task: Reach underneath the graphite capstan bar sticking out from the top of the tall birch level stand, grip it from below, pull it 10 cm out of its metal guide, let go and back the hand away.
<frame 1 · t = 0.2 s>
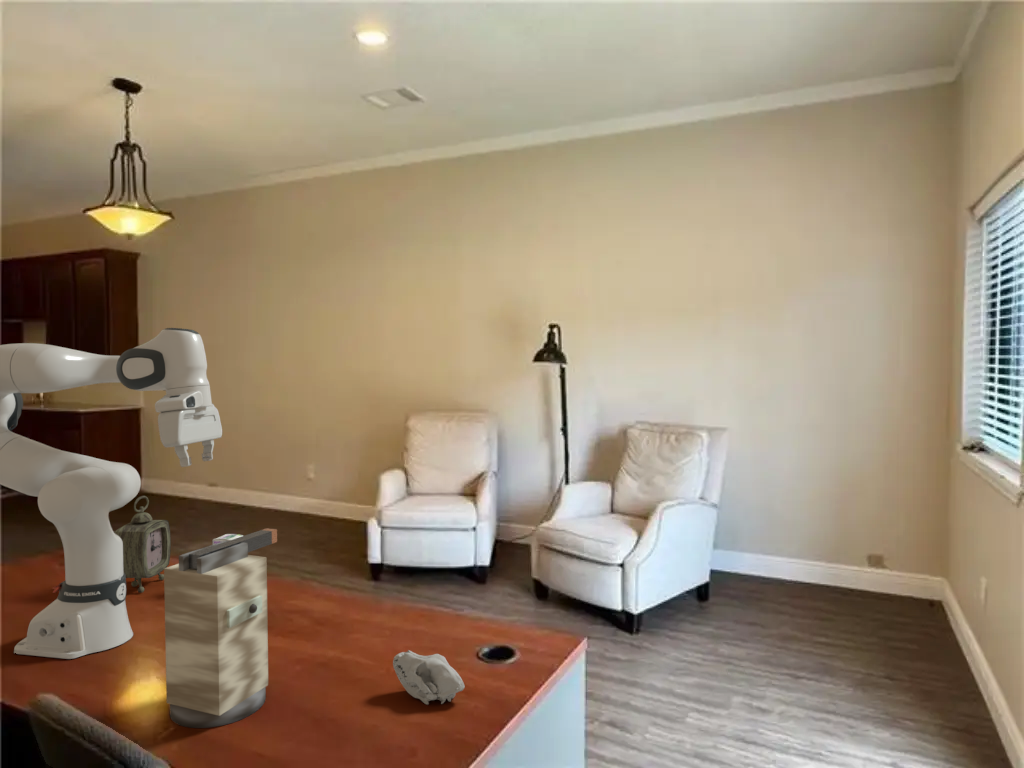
hand: (197, 463, 152), 40 cm above the table, tool pointing down, fingers open, 8 cm apart
syrup box: (229, 589, 189), on the table
level stand: (227, 699, 128), on the table
skull: (429, 696, 129), on the table
capstan bar: (235, 547, 129), point 28 cm above the table, slide at 0.0 cm
tabletop clock: (141, 587, 191), on the table
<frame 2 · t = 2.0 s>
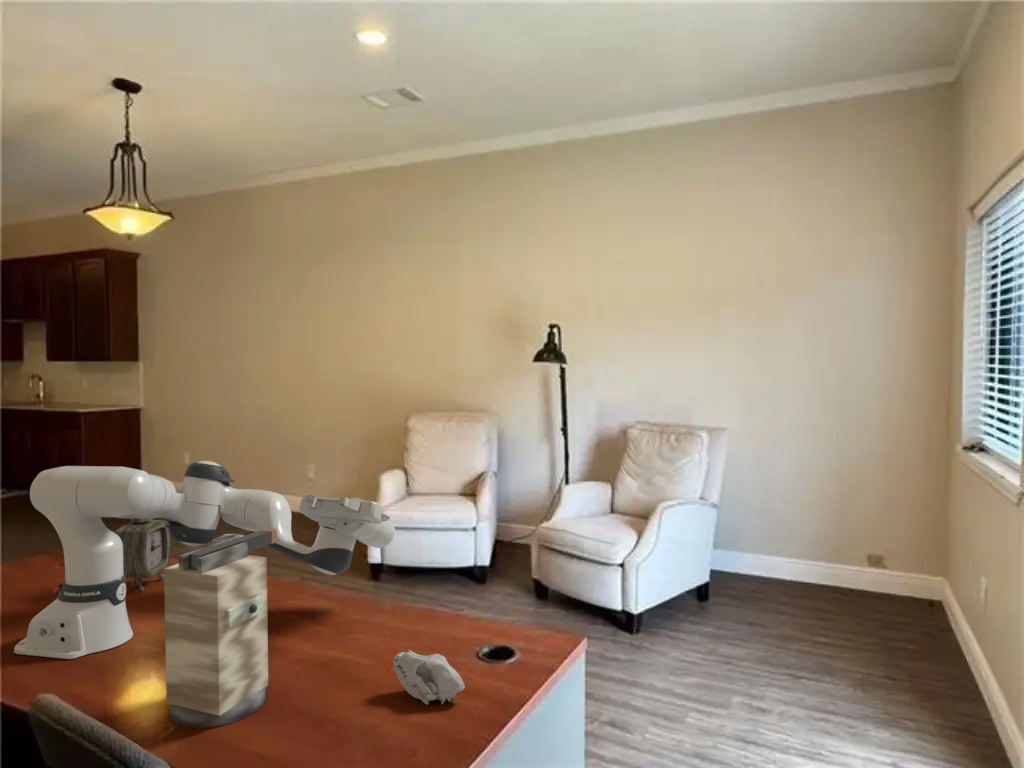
hand: (324, 499, 155), 31 cm above the table, tool pointing upward, fingers open, 8 cm apart
nothing on the table moved.
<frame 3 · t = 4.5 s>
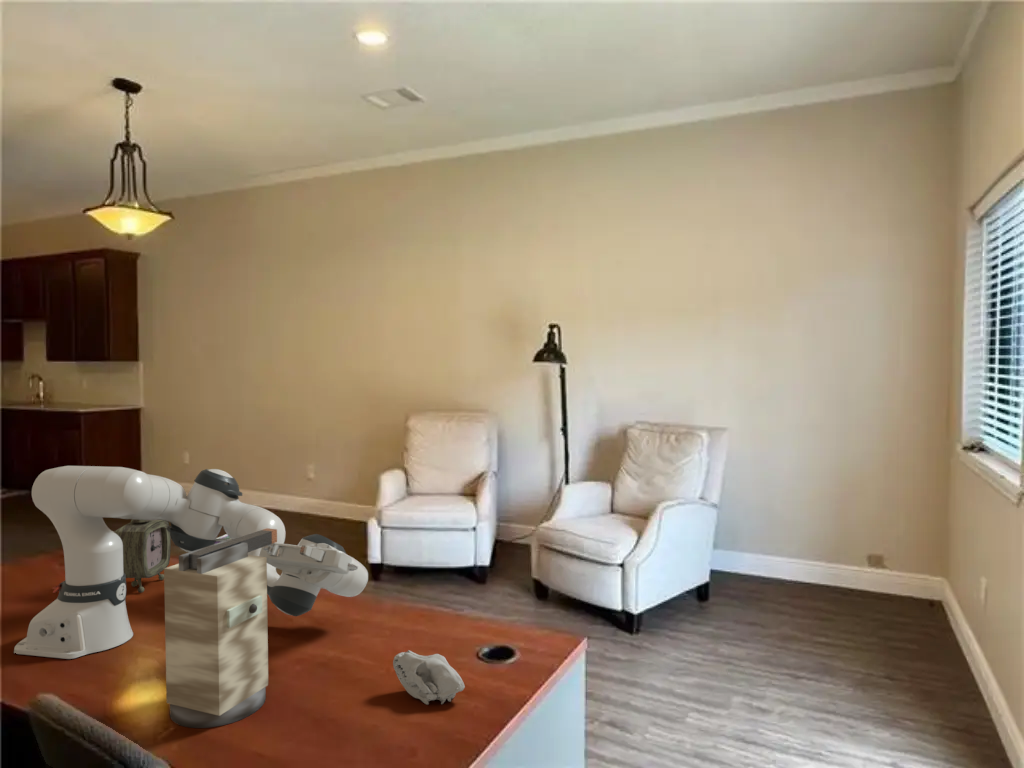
hand: (284, 547, 141), 24 cm above the table, tool pointing upward, fingers open, 8 cm apart
nothing on the table moved.
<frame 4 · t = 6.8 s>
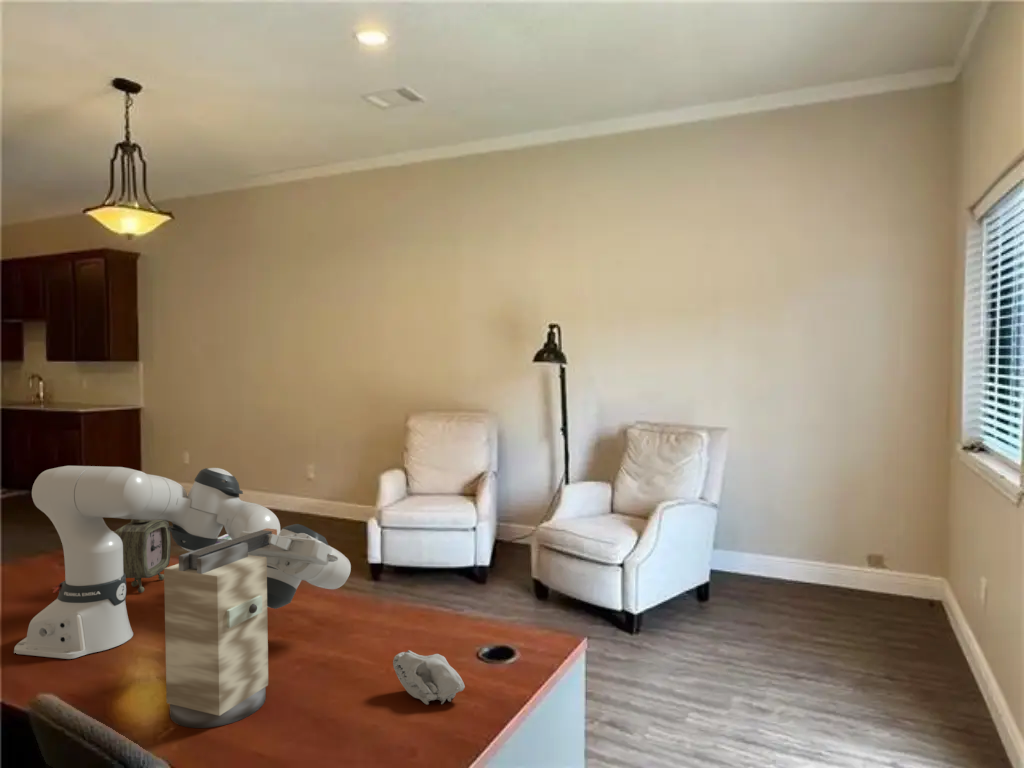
hand: (260, 536, 135), 28 cm above the table, tool pointing upward, fingers closed on capstan bar, 2 cm apart
capstan bar: (236, 547, 129), point 28 cm above the table, slide at 0.0 cm, touching gripper
everything else where it was.
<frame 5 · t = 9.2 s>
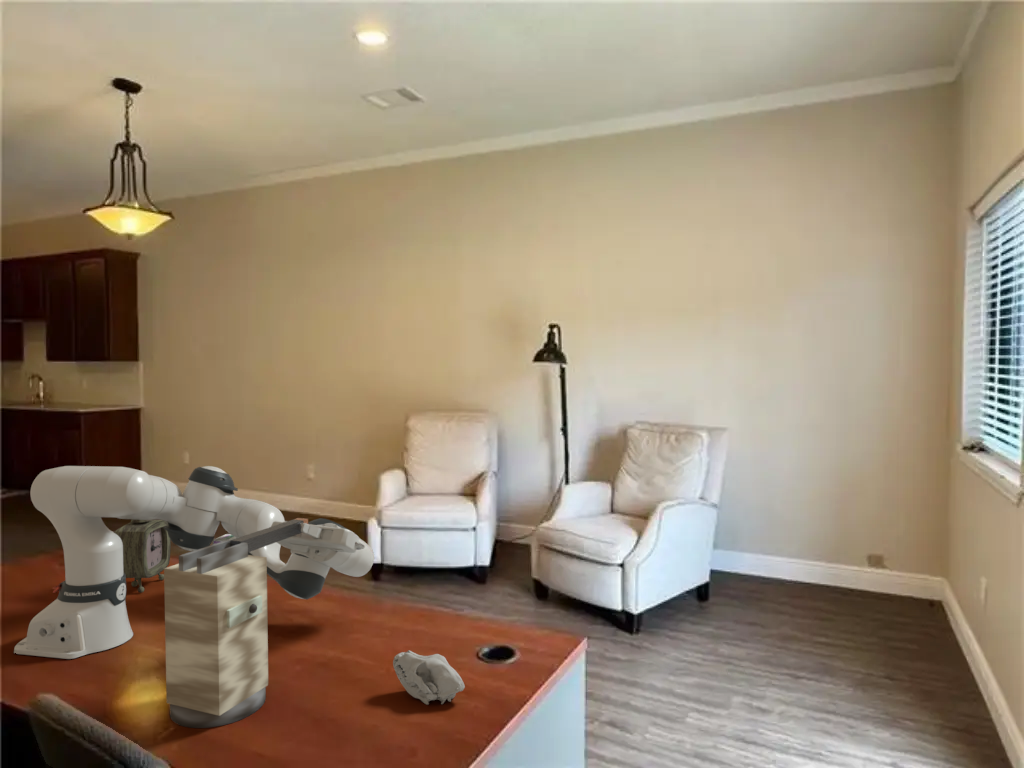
hand: (293, 525, 144), 28 cm above the table, tool pointing upward, fingers closed on capstan bar, 2 cm apart
capstan bar: (271, 535, 138), point 28 cm above the table, slide at 9.7 cm, touching gripper
everything else where it was.
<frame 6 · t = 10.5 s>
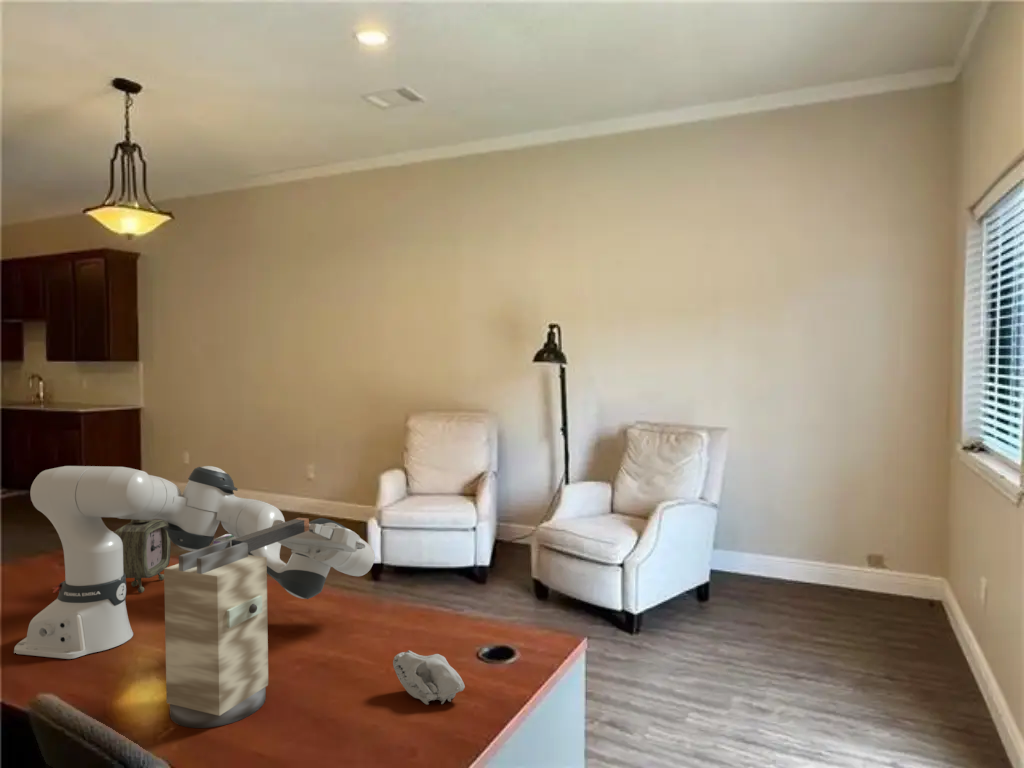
hand: (294, 525, 145), 28 cm above the table, tool pointing upward, fingers open, 8 cm apart
capstan bar: (272, 534, 138), point 28 cm above the table, slide at 10.0 cm
everything else where it was.
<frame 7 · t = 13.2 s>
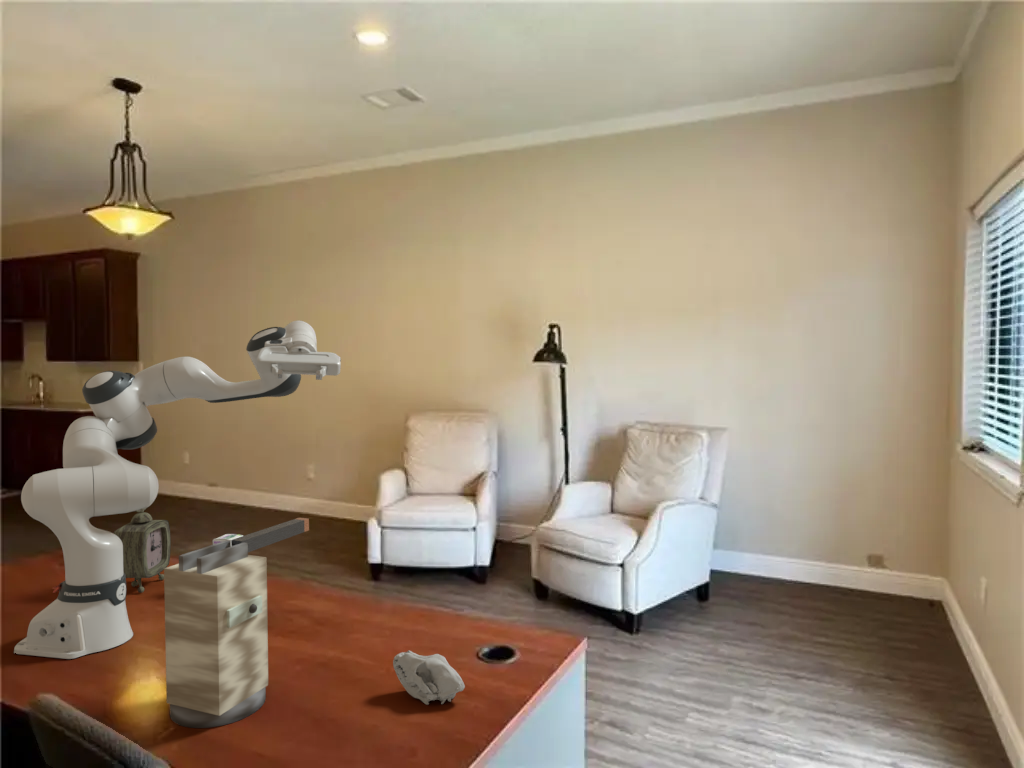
hand: (299, 376, 170), 58 cm above the table, tool tilted 65°, fingers open, 8 cm apart
nothing on the table moved.
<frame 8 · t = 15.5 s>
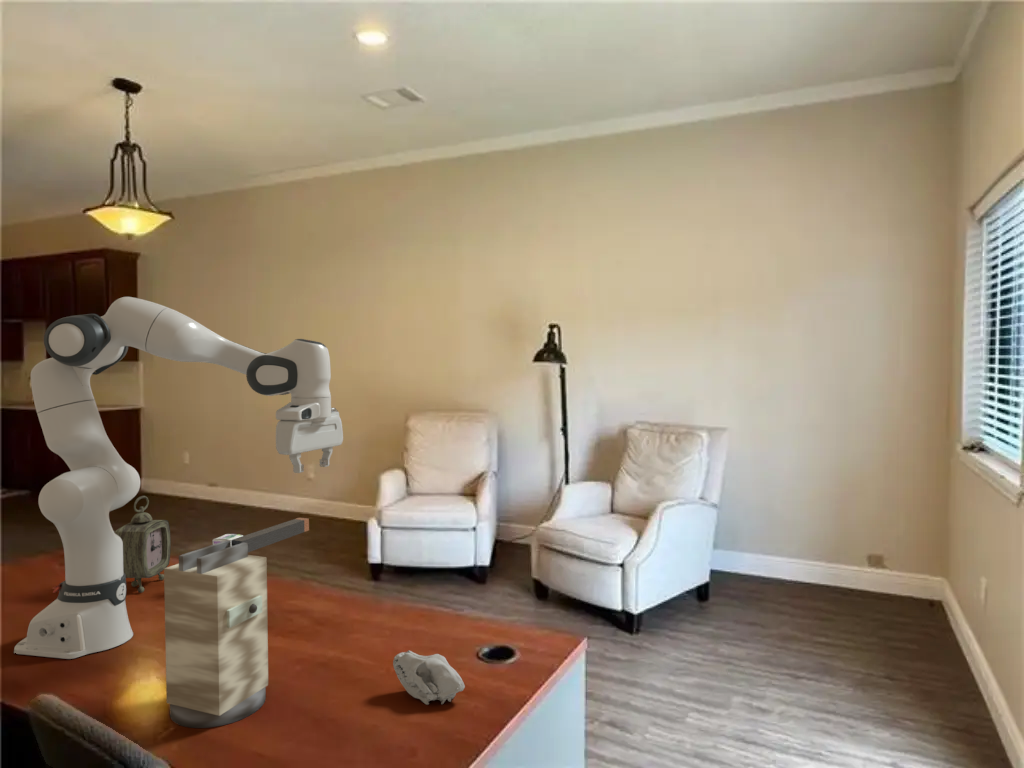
hand: (311, 469, 160), 37 cm above the table, tool pointing down, fingers open, 8 cm apart
nothing on the table moved.
at the end: capstan bar slide at 10.0 cm; the gripper is holding nothing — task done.
